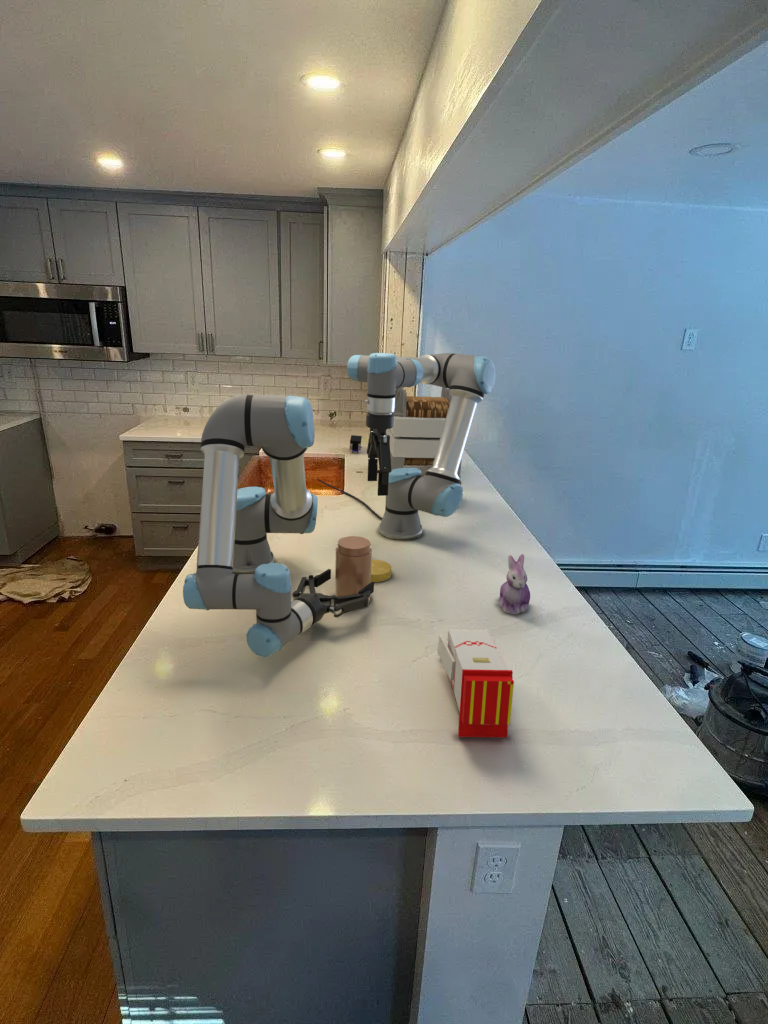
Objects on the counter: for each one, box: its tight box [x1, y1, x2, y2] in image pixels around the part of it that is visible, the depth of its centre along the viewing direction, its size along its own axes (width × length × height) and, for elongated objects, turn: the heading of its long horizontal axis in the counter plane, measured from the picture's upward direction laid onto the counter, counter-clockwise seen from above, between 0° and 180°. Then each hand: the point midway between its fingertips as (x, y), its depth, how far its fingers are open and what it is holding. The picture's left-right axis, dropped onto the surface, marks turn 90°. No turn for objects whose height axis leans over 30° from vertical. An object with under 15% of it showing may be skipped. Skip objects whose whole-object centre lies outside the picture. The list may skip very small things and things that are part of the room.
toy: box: [437, 628, 515, 738], centre depth 117 cm, size 12×13×30 cm
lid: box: [371, 558, 393, 583], centre depth 169 cm, size 11×11×2 cm
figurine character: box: [349, 434, 363, 454], centre depth 310 cm, size 7×8×15 cm
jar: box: [334, 535, 373, 603], centre depth 151 cm, size 10×10×17 cm
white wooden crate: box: [386, 387, 463, 479], centre depth 268 cm, size 34×33×41 cm
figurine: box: [498, 553, 531, 615], centre depth 151 cm, size 9×10×15 cm
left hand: (350, 580), depth 151 cm, fingers open, 13 cm apart
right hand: (377, 487), depth 160 cm, fingers open, 13 cm apart
